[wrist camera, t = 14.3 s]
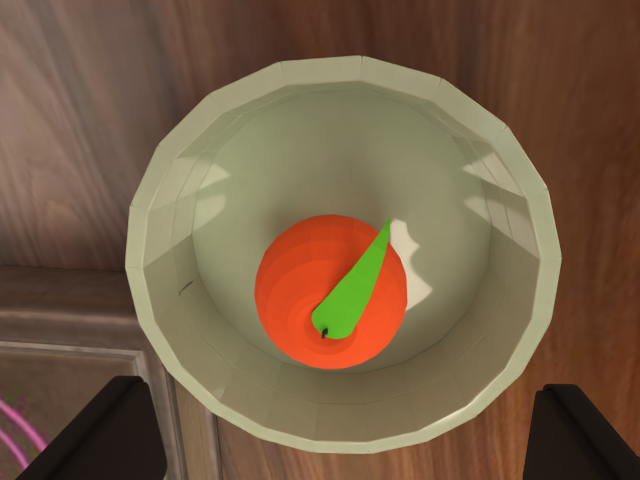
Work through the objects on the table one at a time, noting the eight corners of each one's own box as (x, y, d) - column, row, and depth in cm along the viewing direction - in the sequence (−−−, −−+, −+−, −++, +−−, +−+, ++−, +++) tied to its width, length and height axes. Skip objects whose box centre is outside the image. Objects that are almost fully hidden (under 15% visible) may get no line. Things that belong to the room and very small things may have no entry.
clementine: (322, 156, 18) (305, 178, 11) (436, 227, 19) (484, 288, 12) (250, 278, 20) (201, 355, 14) (353, 336, 21) (354, 437, 14)
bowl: (521, 62, 16) (600, 36, 11) (486, 378, 22) (528, 459, 17) (155, 88, 18) (76, 76, 13) (209, 376, 24) (169, 449, 18)
